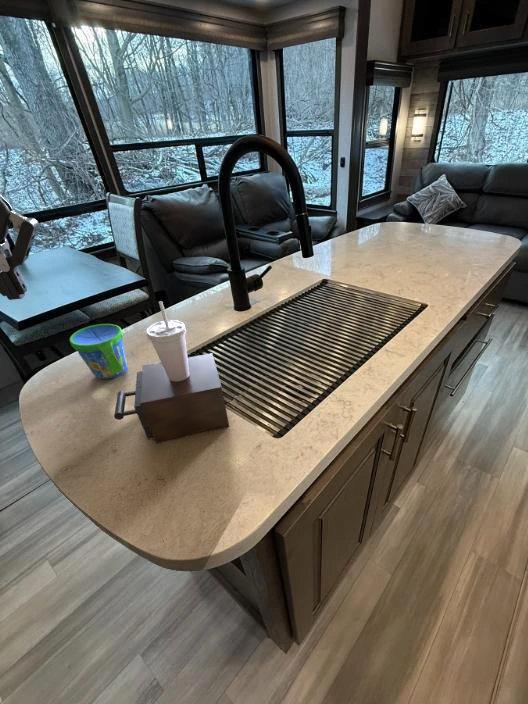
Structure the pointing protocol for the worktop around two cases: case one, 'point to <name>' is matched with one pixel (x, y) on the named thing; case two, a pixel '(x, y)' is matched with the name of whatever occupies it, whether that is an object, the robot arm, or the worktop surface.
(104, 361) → the snack cup
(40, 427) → the worktop surface
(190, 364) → the cabinet
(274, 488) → the worktop surface
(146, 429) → the drawer
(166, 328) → the smoothie
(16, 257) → the robot arm
